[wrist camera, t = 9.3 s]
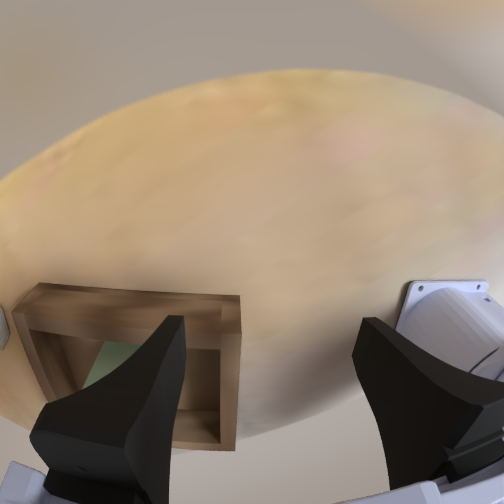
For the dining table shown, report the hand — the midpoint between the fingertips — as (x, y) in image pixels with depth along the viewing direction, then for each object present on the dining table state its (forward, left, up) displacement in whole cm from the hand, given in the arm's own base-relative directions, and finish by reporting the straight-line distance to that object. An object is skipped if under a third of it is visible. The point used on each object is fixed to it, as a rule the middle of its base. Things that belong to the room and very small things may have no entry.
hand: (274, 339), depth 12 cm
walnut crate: (+9, +10, -9) cm, 16 cm away
